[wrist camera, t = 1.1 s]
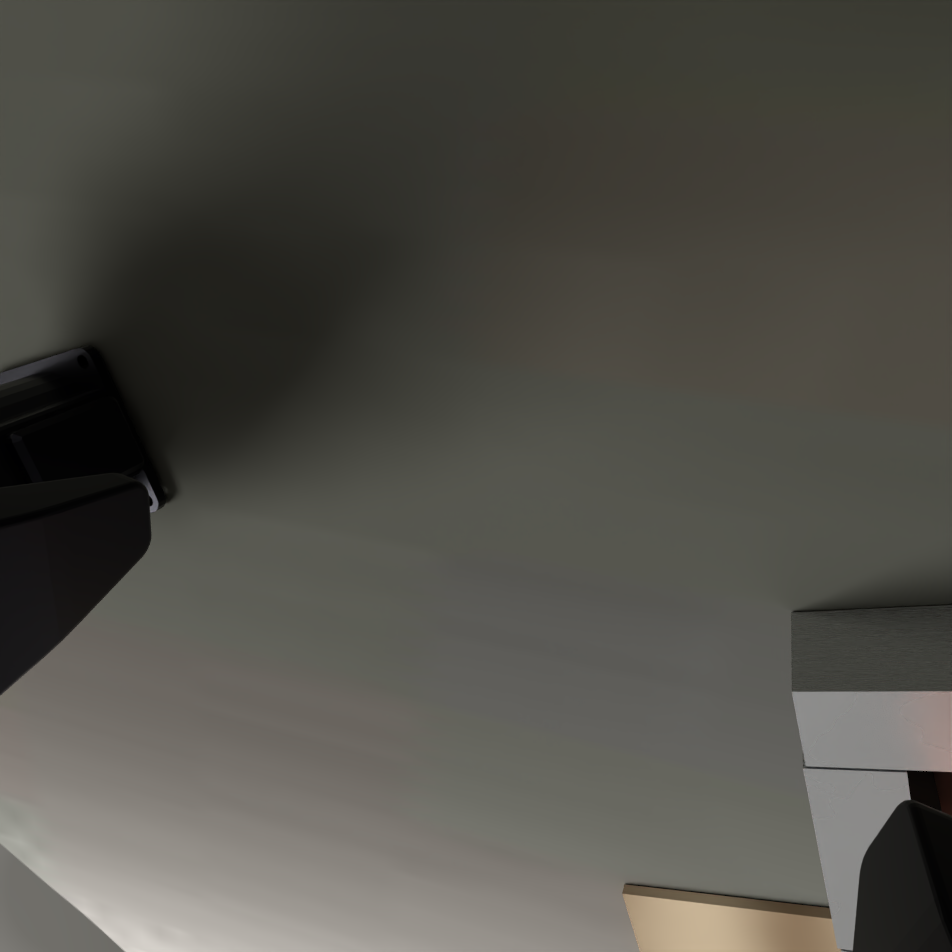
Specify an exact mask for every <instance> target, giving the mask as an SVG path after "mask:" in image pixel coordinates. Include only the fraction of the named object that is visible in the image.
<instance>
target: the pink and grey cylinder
mask: <svg viewBox="0 0 952 952" xmlns="http://www.w3.org/2000/svg"><path fill="white" fill-rule="evenodd" d="M933 774H934V779H935V783H936V788H937V792H938V797H939V801H940V805H941V810H942V812H944V813H946V814H948V815H950V816H952V772H941V771H933Z"/></svg>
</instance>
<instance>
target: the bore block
mask: <svg viewBox="0 0 952 952" xmlns="http://www.w3.org/2000/svg"><path fill="white" fill-rule="evenodd" d="M791 651H792V695H793V701H794V706H795V711H796V717H797V722H798V727H799V732H800V738H801V743H802V748H803V771H804V776H805V781H806V786H807V792H808V797H809V802H810V807H811V813H812V818H813V823H814V828H815V833H816V839H817V844H818V849H819V854H820V860H821V865H822V870H823V875H824V881H825V886H826V891H827V896H828V902H829V907H830V912H831V917H832V923H833V928H834V933H835V938H836V944H837V948H838V949H841V952H853V941H854V930H855V918H856V907H857V896H858V885H859V874H860V868H861V864H862V860H863V857H864V855H865V853H866V851H867V849H868V847H869V846H870V844H871V843H872V841H873V840H874V839H875V837H876V836H877V834H878V833H879V831H880V830H881V828H882V827H883V826H884V824H885V823H886V821H887V820H888V818H889V817H890V815H891V814H892V812H893V811H894V810H895V808H896V807H897V806H898V805H899V804H900V803H901V802H903V801H904V800H911V798H910V791H909V784H908V776H907V770H915V771H941V772H952V605H941V606H919V607H898V608H877V609H855V610H834V611H812V612H791Z"/></svg>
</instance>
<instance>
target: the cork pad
mask: <svg viewBox="0 0 952 952" xmlns="http://www.w3.org/2000/svg"><path fill="white" fill-rule="evenodd" d="M622 894H623V897H624V900H625V904H626V907H627V910H628V914H629V917H630V920H631V923H632V927H633V930H634V933H635V936H636V940H637V943H638V946H639V950H640V952H841V949H838V948H837V944H836V938H835V933H834V928H833V923H832V917H831V912H830V908H825V907H816V906H807V905H799V904H790V903H781V902H773V901H764V900H755V899H747V898H738V897H729V896H721V895H712V894H703V893H695V892H686V891H677V890H669V889H660V888H651V887H643V886H634V885H625V884H624V889H623V893H622Z"/></svg>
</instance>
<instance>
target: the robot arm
mask: <svg viewBox="0 0 952 952" xmlns="http://www.w3.org/2000/svg"><path fill="white" fill-rule="evenodd" d="M87 360H88V361H87ZM165 503H166V498H165V495H164V492H163V490H162V488H161V486H160V484H159V481H158V479H157V477H156V475H155V473H154V471H153V468H152V466H151V464H150V462H149V460H148V457H147V455H146V453H145V451H144V449H143V447H142V444H141V442H140V440H139V438H138V436H137V434H136V431H135V429H134V427H133V425H132V423H131V420H130V418H129V416H128V414H127V412H126V410H125V407H124V405H123V403H122V401H121V399H120V396H119V394H118V392H117V390H116V388H115V386H114V383H113V381H112V379H111V377H110V375H109V373H108V370H107V368H106V366H105V364H104V362H103V359H102V357H101V355H100V354H99V352H98V351H97V350H96V349H95V348H94V347H91V346H83V347H80V348H77V349H74V350H71V351H67V352H64V353H61V354H58V355H55V356H52V357H49V358H46V359H43V360H39V361H36V362H33V363H30V364H27V365H24V366H21V367H18V368H15V369H12V370H8V371H5V372H2V373H0V695H2V694H3V693H4V692H5V691H6V690H7V689H8V688H10V687H11V686H12V685H13V684H14V683H15V682H16V681H18V680H19V679H20V678H21V677H22V676H23V675H24V674H25V673H27V672H28V671H29V670H30V669H31V668H32V667H33V666H35V665H36V664H37V663H38V662H39V661H40V660H41V659H43V658H44V657H45V656H46V655H47V654H48V653H49V652H50V651H51V650H53V649H54V648H55V647H56V646H57V645H58V644H59V643H60V642H61V641H62V640H63V639H64V638H65V637H66V636H67V635H68V634H69V633H70V632H71V631H72V630H73V629H74V628H75V627H76V626H77V625H78V624H79V623H80V622H81V621H82V620H83V619H84V618H85V617H86V616H87V615H88V613H89V612H90V611H91V610H92V609H93V608H94V607H95V606H96V605H97V604H98V603H99V602H100V601H101V600H102V599H103V598H104V597H105V596H106V595H107V594H108V592H109V591H110V590H111V589H112V588H113V587H114V586H115V585H116V584H117V583H118V582H119V581H120V580H121V579H122V578H123V577H124V576H125V575H126V574H127V572H128V571H129V570H130V569H131V568H132V567H133V566H134V565H135V564H136V563H137V562H138V561H139V560H140V559H141V558H142V557H143V555H144V554H145V553H146V551H147V549H148V547H149V545H150V541H151V520H150V513H151V512H154V511H156V510H158V509H160V508H162V507H163V506H164V505H165ZM853 952H952V816H950V815H948V814H946V813H944V812H941V811H939V810H937V809H934V808H932V807H929V806H927V805H924V804H922V803H920V802H917V801H914V800H904V801H903V802H901V803H900V804H899V805H898V806H897V807H896V808H895V810H894V811H893V812H892V814H891V815H890V817H889V818H888V820H887V821H886V823H885V824H884V826H883V827H882V828H881V830H880V831H879V833H878V834H877V836H876V837H875V839H874V840H873V841H872V843H871V844H870V846H869V847H868V849H867V851H866V853H865V855H864V857H863V860H862V864H861V868H860V874H859V885H858V896H857V907H856V918H855V930H854V941H853Z"/></svg>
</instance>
